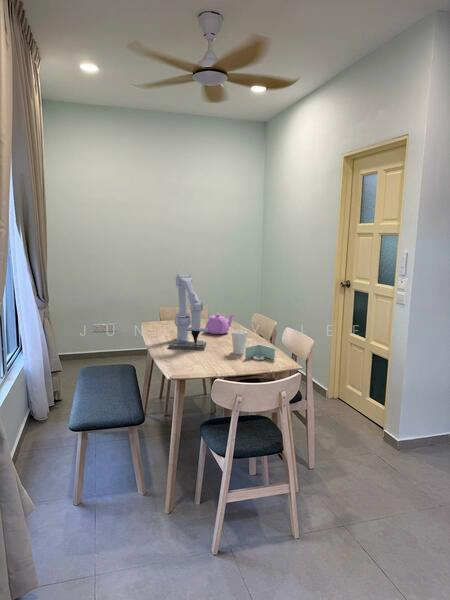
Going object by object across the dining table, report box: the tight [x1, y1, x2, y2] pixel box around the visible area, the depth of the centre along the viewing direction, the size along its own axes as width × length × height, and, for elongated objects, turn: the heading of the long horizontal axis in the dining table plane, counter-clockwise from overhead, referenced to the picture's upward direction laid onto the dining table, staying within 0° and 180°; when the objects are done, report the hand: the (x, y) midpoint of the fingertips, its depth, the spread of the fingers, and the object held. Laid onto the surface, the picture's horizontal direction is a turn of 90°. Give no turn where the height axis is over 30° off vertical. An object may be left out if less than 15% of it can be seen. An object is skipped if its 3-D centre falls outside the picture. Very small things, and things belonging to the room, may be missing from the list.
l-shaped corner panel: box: [244, 343, 276, 362], centre depth 236 cm, size 12×12×8 cm
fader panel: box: [168, 340, 207, 351], centre depth 258 cm, size 12×22×2 cm, turn 88°
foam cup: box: [231, 329, 248, 355], centre depth 248 cm, size 10×9×13 cm
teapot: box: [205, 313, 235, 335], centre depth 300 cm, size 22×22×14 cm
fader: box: [197, 337, 205, 345], centre depth 257 cm, size 5×4×3 cm
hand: (195, 342), depth 258 cm, fingers closed
